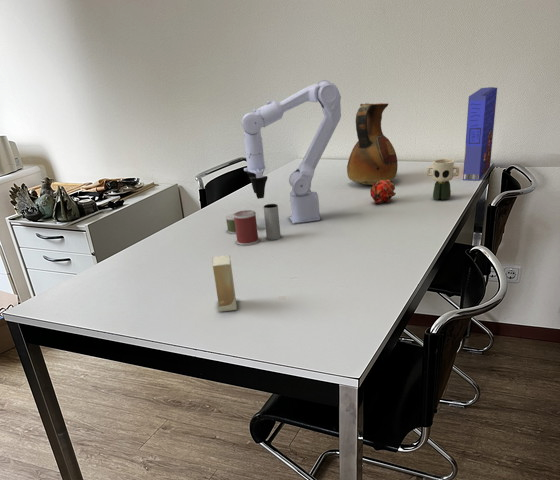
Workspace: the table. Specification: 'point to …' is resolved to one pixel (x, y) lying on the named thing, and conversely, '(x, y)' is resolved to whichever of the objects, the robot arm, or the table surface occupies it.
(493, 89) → the cereal box
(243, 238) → the tall can
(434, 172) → the character mug
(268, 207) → the planter
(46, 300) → the table surface
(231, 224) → the short can
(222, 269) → the cosmetic box
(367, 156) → the ceramic pitcher
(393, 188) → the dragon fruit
